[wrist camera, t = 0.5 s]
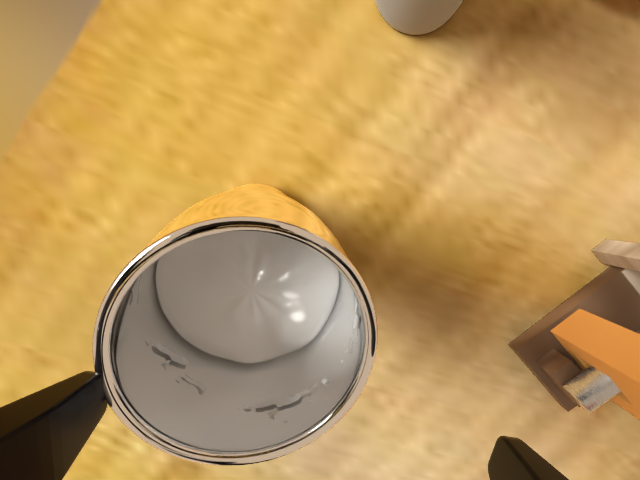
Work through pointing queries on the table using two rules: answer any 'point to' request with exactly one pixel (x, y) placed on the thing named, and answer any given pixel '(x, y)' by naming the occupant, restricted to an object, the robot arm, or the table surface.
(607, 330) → the collar
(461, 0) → the lotion bottle
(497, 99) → the table surface
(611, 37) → the table surface
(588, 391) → the steel pipe
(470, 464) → the table surface
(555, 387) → the pipe board
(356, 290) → the beer glass
